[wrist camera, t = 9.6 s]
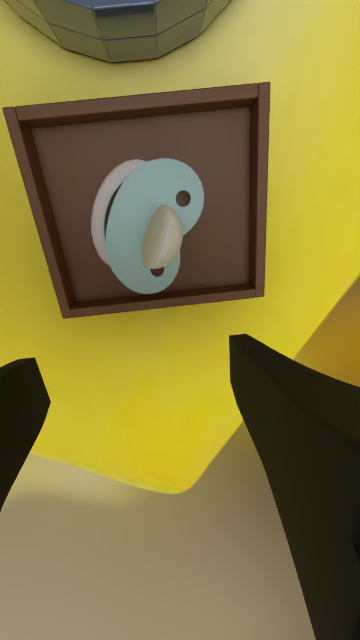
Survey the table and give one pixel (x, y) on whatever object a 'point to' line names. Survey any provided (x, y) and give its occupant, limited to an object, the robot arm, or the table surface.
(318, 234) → the table surface
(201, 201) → the pacifier
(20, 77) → the table surface
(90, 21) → the bowl
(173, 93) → the tray
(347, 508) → the robot arm
